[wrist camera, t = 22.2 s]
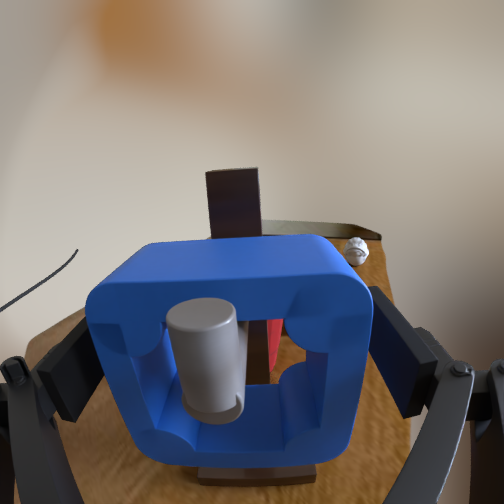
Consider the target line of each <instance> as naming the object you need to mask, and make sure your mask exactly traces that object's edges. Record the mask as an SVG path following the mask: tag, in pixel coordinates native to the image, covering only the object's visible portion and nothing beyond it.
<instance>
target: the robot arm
mask: <svg viewBox="0 0 504 504" xmlns="http://www.w3.org/2000/svg"><path fill="white" fill-rule="evenodd" d="M77 252H78V249H77V250H76V251H75V253H74V254H73V255H72V257H71V258H70V259H69V260H68V261H67V262H66V263H65V264H64V265H62V266H61V267H60V268H59V269H57V270H56V271H55V272H53V273H52V274H51V275H49V276H48V277H46V278H45V279H44V280H42V281H41V282H39V283H37V284H36V285H35V286H33V287H31V288H30V289H28V290H27V291H25V292H24V293H22V294H21V295H19V296H17V297H16V298H15V299H13V300H12V301H10V302H8V303H7V304H5V305H4V306H2V307H1V308H0V312H1V311H3V310H4V309H6V308H7V307H9V306H10V305H12V304H13V303H14V302H16V301H18V300H19V299H20V298H22V297H23V296H25V295H27V294H28V293H29V292H31V291H33V290H34V289H35V288H37V287H38V286H40V285H41V284H43V283H44V282H46V281H47V280H49V279H50V278H51V277H53V276H54V275H56V274H57V273H58V272H59V271H61V270H62V269H63V268H64V267H65V266H66V265H67V264H68V263H69V262H70V261H71V260H72V259H73V258H74V257H75V255H76V254H77ZM367 288H368V289H369V291H370V293H371V296H372V300H373V319H372V326H371V334H370V341H369V348H368V351H369V352H370V354H371V356H372V358H373V360H374V362H375V364H376V366H377V368H378V370H379V371H380V373H381V375H382V377H383V379H384V381H385V383H386V385H387V387H388V389H389V391H390V393H391V395H392V397H393V399H394V401H395V403H396V405H397V407H398V409H399V411H400V413H401V415H402V417H403V419H406V418H410V417H413V416H417V415H420V414H421V412H422V409H423V406H424V404H425V406H426V407H427V409H428V413H427V416H426V418H425V421H424V423H423V425H422V428H421V430H420V432H419V435H418V437H417V439H416V441H415V443H414V446H413V448H412V450H411V452H410V454H409V456H408V458H407V460H406V462H405V464H404V466H403V468H402V470H401V472H400V474H399V475H398V477H397V479H396V481H395V483H394V485H393V486H392V488H391V490H390V492H389V493H388V495H387V497H386V498H385V500H384V502H383V503H382V504H437V502H438V500H439V497H440V495H441V492H442V490H443V487H444V485H445V482H446V480H447V477H448V474H449V472H450V469H451V466H452V463H453V460H454V457H455V454H456V451H457V448H458V444H459V441H460V437H461V434H462V430H463V427H464V423H465V421H470V434H471V481H470V499H469V504H504V359H497V360H495V361H493V362H492V364H491V366H490V369H489V370H485V371H484V370H483V371H474V369H473V367H472V366H471V365H469V364H468V363H466V362H463V361H454V360H453V359H452V358H451V356H450V355H449V354H448V353H447V352H446V350H445V349H444V348H443V347H442V346H441V345H440V343H439V342H438V341H437V340H435V338H434V337H433V335H432V334H431V333H430V332H429V331H427V330H425V329H423V328H422V327H419V328H413V327H412V326H411V325H410V324H409V322H408V321H407V320H406V319H405V318H404V316H403V315H402V314H401V313H400V312H399V311H398V309H397V308H396V307H395V306H394V305H393V304H392V302H391V301H390V300H389V299H388V298H387V297H386V295H385V294H384V293H383V292H382V291H381V290H380V289H379V288H378V286H371V287H367ZM0 370H1V373H2V375H3V376H4V378H5V380H6V382H7V383H0V504H14V484H15V478H16V483H17V488H18V493H19V498H20V502H21V504H84V501H83V499H82V497H81V494H80V492H79V489H78V487H77V484H76V482H75V479H74V476H73V474H72V471H71V468H70V465H69V462H68V459H67V456H66V453H65V450H64V447H63V444H62V440H61V437H60V434H59V430H58V426H57V423H56V420H55V418H54V417H53V414H54V413H55V411H56V410H57V412H58V414H59V415H60V417H61V419H62V420H66V421H70V422H74V423H76V421H77V419H78V417H79V416H80V414H81V412H82V411H83V409H84V407H85V406H86V404H87V402H88V401H89V399H90V397H91V396H92V394H93V393H94V391H95V389H96V388H97V386H98V384H99V383H100V381H101V380H102V378H103V376H104V375H105V374H104V371H103V369H102V366H101V363H100V360H99V358H98V355H97V352H96V349H95V346H94V343H93V340H92V337H91V334H90V330H89V327H88V324H87V320H86V316H85V317H84V318H83V319H82V320H81V321H80V322H79V323H78V325H77V326H76V327H75V328H74V329H73V330H72V331H71V332H70V333H69V334H68V335H67V336H66V337H65V338H64V339H63V340H62V341H61V342H60V343H58V344H57V345H55V346H54V347H52V348H51V349H50V350H49V351H48V353H47V354H46V355H45V356H44V357H43V359H41V360H40V361H39V362H38V364H37V365H36V366H35V367H34V368H33V369H32V370H31V371H29V369H28V367H27V365H26V362H25V360H24V358H23V357H21V356H14V357H11V358H8V359H7V360H5V361H4V362H3V363H2V364H1V365H0Z"/></svg>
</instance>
